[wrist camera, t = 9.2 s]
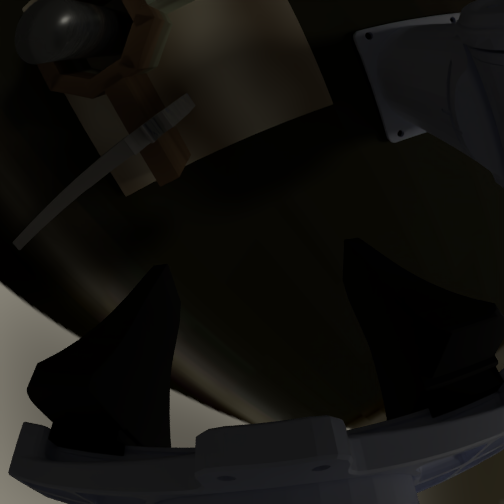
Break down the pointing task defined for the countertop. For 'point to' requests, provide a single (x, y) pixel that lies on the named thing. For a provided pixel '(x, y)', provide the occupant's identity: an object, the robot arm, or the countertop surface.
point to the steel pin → (70, 31)
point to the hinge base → (192, 80)
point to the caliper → (109, 163)
